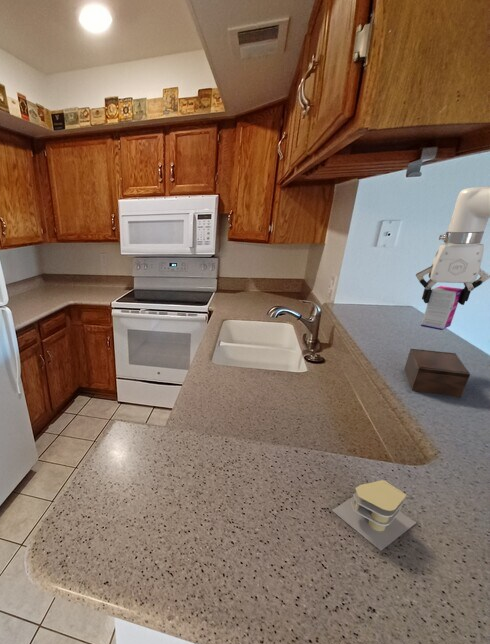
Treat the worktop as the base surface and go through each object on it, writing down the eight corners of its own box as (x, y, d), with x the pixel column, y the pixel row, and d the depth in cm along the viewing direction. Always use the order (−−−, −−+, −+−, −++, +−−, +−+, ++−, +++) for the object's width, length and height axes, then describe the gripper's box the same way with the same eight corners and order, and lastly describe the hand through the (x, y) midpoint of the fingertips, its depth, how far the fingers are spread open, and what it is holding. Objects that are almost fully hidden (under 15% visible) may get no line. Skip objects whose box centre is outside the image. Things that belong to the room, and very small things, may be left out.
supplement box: (443, 330, 96) (455, 291, 91) (419, 326, 100) (430, 288, 95) (451, 326, 98) (463, 288, 94) (428, 322, 103) (438, 285, 98)
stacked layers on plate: (366, 488, 63) (372, 466, 61) (416, 522, 56) (426, 500, 53) (331, 510, 59) (337, 488, 57) (380, 551, 52) (389, 527, 49)
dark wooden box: (447, 374, 100) (455, 353, 96) (460, 397, 88) (470, 374, 85) (404, 369, 104) (410, 348, 101) (411, 390, 93) (419, 367, 90)
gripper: (426, 241, 89) (409, 304, 97) (511, 239, 82) (486, 308, 90) (421, 238, 95) (405, 298, 103) (500, 236, 88) (476, 301, 96)
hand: (443, 302), depth 96 cm, fingers closed on supplement box, 7 cm apart
